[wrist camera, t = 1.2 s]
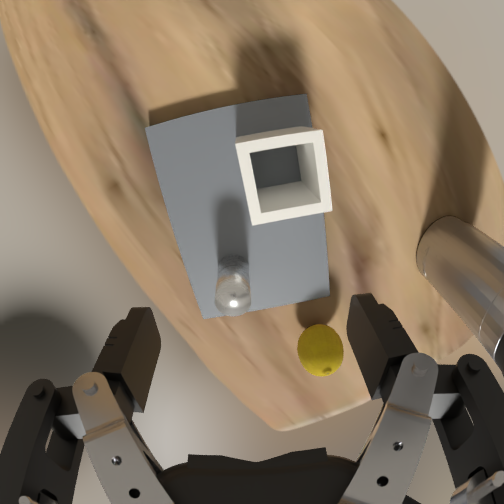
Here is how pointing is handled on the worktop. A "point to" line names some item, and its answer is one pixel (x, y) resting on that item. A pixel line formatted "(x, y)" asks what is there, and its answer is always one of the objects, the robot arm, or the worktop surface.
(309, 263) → the duct base
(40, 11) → the worktop surface
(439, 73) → the worktop surface
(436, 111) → the worktop surface
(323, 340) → the lemon
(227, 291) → the silver metal capsule
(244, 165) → the duct collar
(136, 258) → the worktop surface
